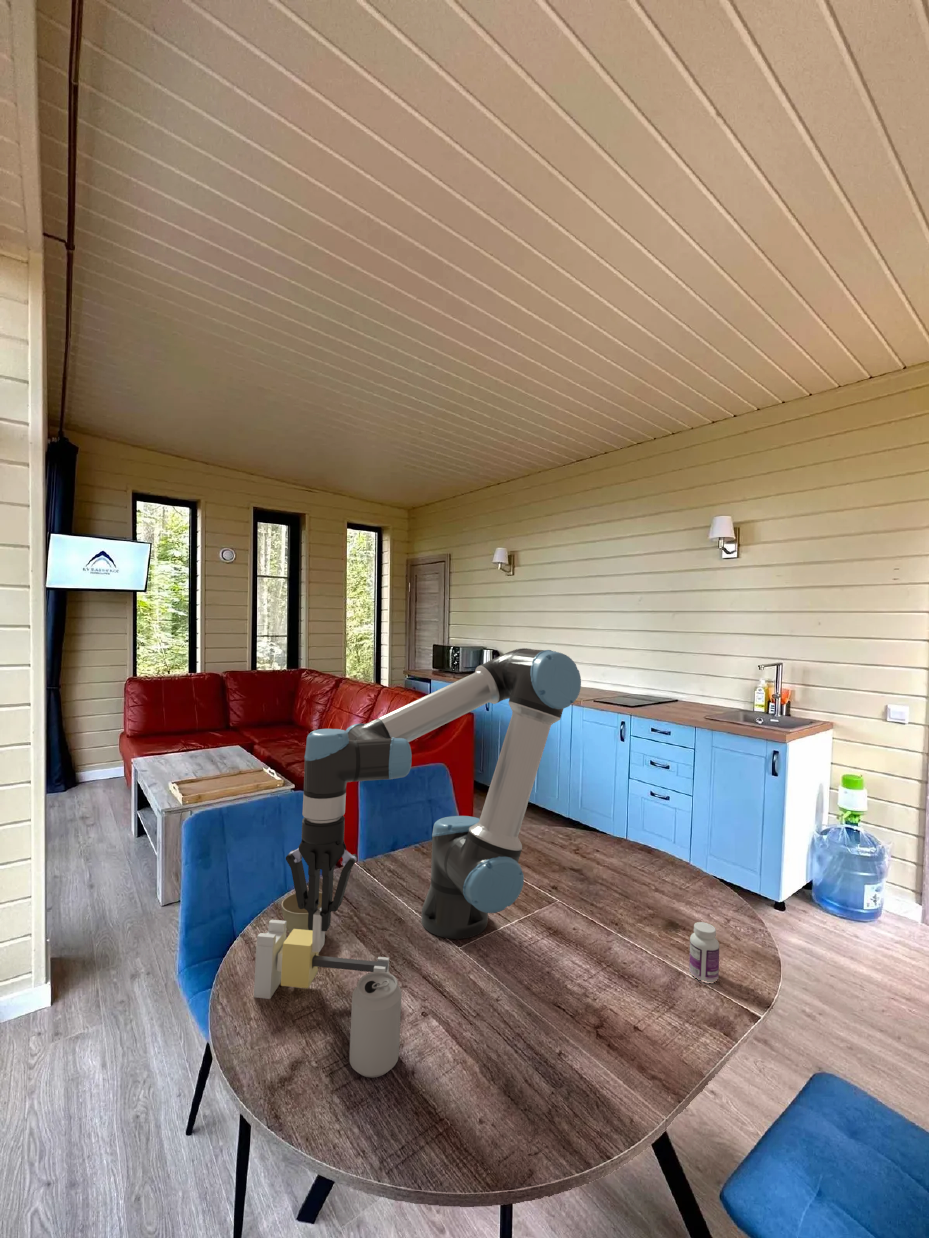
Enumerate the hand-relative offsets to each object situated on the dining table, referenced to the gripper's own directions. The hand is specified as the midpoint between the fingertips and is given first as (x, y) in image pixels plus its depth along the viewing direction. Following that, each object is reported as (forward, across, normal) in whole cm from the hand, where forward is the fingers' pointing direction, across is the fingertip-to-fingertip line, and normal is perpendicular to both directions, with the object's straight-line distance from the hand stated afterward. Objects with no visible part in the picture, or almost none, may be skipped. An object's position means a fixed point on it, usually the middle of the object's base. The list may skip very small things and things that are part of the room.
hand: (318, 947), depth 99 cm
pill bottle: (+9, -73, -16) cm, 75 cm away
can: (+8, -14, +14) cm, 22 cm away
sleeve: (+6, +3, 0) cm, 7 cm away
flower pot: (+8, +9, -17) cm, 21 cm away
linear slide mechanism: (+8, -1, 0) cm, 8 cm away
